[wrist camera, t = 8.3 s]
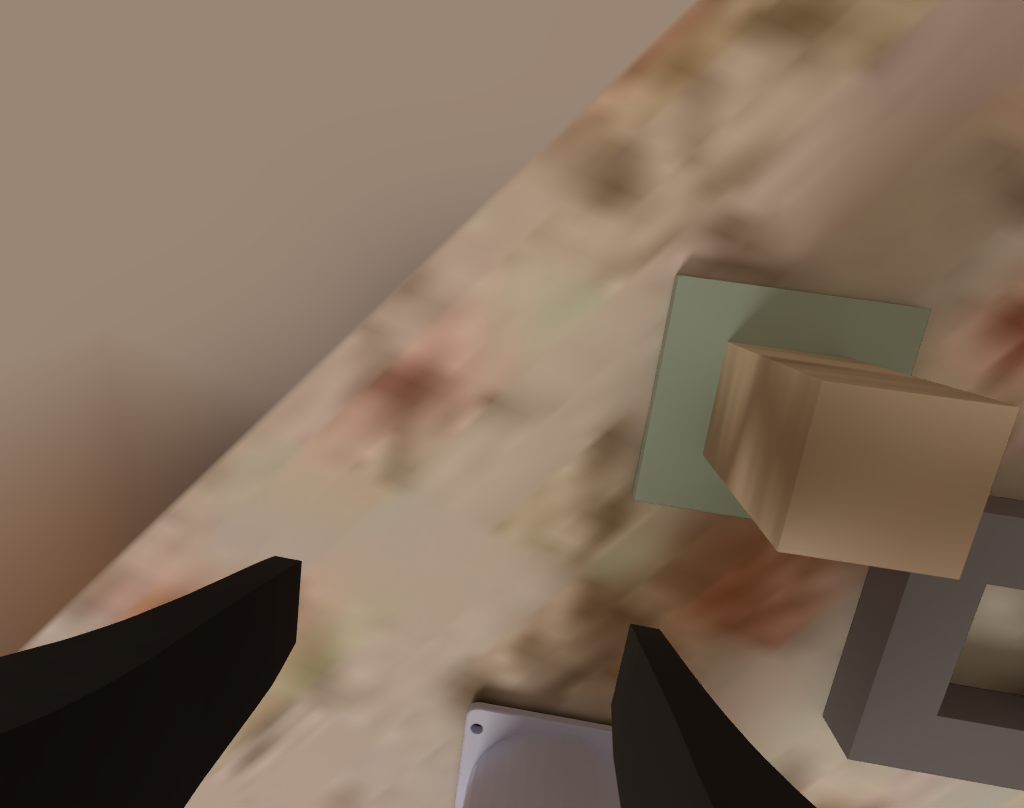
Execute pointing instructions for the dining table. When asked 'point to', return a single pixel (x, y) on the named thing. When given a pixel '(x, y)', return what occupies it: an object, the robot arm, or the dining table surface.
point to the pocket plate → (931, 667)
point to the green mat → (755, 321)
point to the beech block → (855, 458)
